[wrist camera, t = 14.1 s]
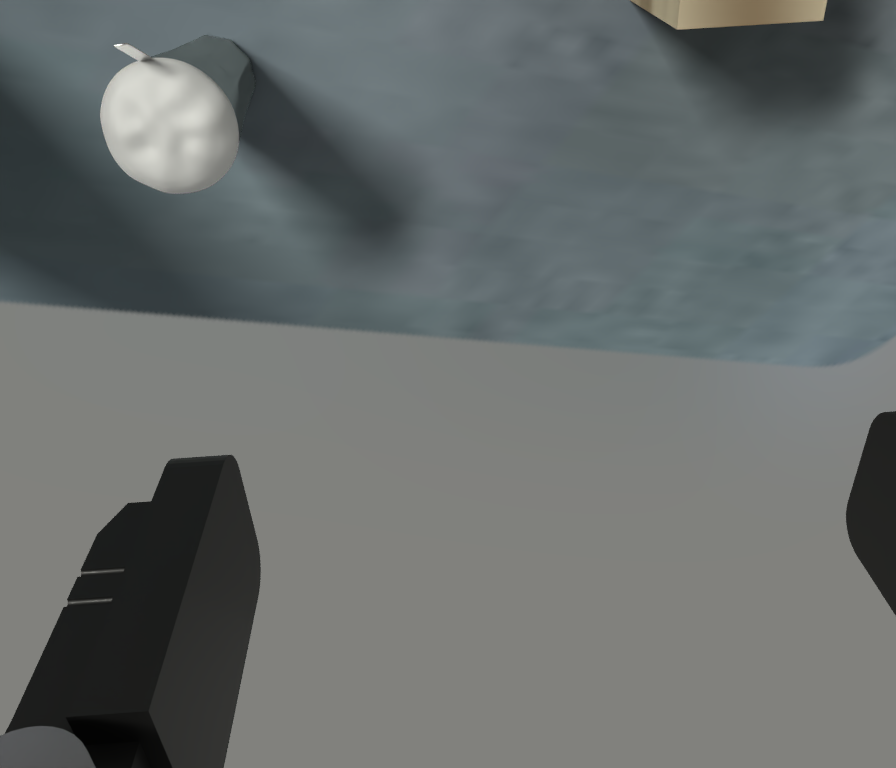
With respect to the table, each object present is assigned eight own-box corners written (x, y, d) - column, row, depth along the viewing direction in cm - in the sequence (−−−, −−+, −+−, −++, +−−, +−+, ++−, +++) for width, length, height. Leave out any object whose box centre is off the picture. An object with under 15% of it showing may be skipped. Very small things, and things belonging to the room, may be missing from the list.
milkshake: (250, -13, 32) (195, 32, 24) (282, 121, 35) (244, 203, 27) (139, 4, 32) (46, 54, 24) (181, 136, 35) (111, 222, 27)
